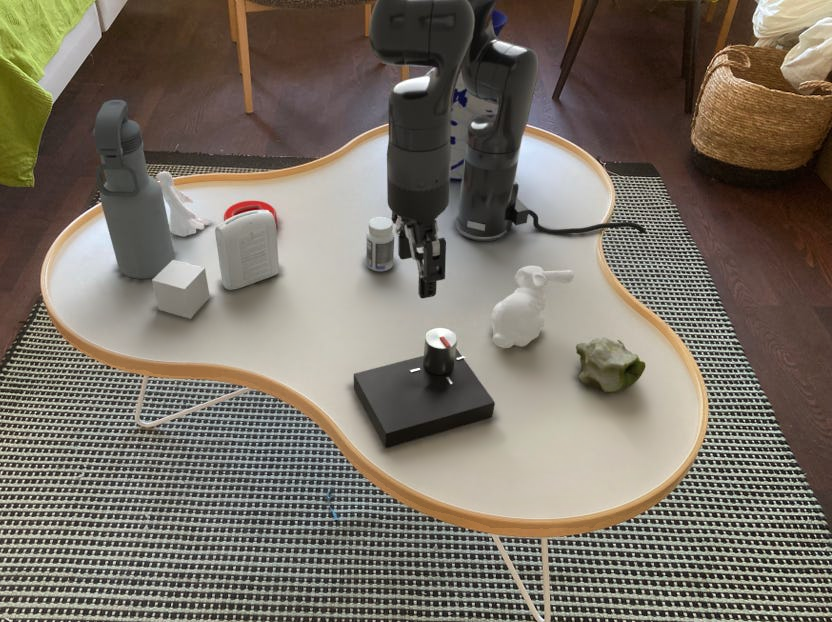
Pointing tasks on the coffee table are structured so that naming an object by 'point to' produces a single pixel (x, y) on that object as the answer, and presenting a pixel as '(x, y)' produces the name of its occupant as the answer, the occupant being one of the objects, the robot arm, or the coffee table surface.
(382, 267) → the pill bottle
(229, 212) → the decorative ornament
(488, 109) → the vase
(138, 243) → the water bottle
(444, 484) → the coffee table surface
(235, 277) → the photo printer
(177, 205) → the figurine
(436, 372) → the knob
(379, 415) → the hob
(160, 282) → the white cube
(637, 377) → the greyish green lumpy piece
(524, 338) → the rabbit
